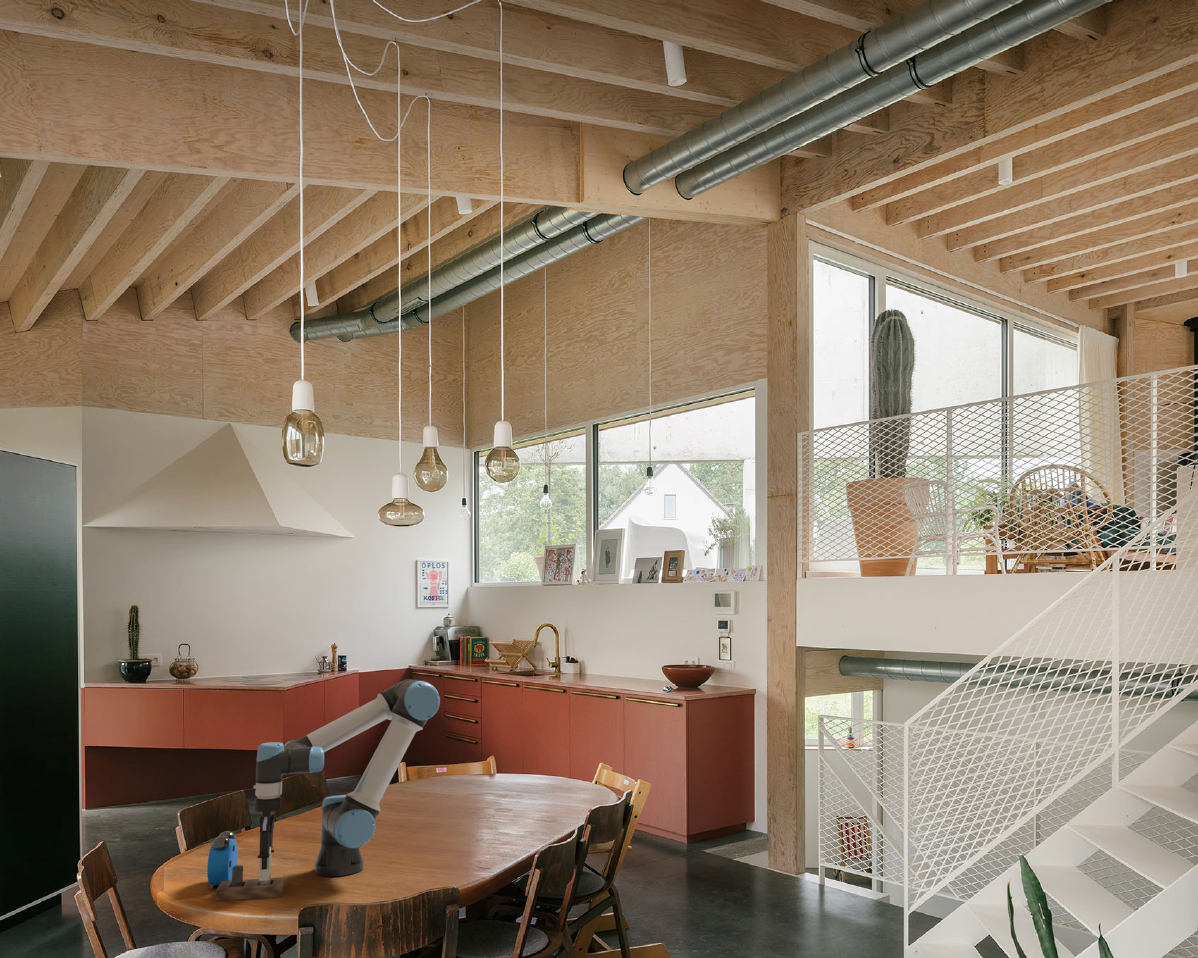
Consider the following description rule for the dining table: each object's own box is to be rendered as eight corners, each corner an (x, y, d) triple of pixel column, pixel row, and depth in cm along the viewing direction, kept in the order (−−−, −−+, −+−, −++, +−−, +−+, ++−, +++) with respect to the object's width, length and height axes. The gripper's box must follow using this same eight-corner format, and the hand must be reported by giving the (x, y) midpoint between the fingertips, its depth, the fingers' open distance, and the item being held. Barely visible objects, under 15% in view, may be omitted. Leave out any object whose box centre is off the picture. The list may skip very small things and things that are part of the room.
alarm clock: (217, 878, 296) (219, 828, 298) (237, 877, 297) (239, 827, 299) (205, 891, 283) (208, 839, 285) (227, 890, 284) (229, 838, 286)
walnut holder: (284, 887, 287) (285, 859, 288) (281, 896, 278) (282, 867, 279) (221, 891, 283) (222, 863, 284) (215, 900, 274) (216, 871, 275)
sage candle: (259, 892, 282) (261, 846, 284) (270, 891, 283) (271, 845, 285) (258, 895, 279) (260, 849, 281) (269, 894, 280) (270, 848, 282)
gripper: (258, 791, 292) (255, 871, 289) (251, 802, 276) (247, 886, 273) (284, 790, 293) (281, 870, 290) (278, 801, 278) (274, 885, 275)
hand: (264, 878), depth 282 cm, fingers closed on sage candle, 3 cm apart
